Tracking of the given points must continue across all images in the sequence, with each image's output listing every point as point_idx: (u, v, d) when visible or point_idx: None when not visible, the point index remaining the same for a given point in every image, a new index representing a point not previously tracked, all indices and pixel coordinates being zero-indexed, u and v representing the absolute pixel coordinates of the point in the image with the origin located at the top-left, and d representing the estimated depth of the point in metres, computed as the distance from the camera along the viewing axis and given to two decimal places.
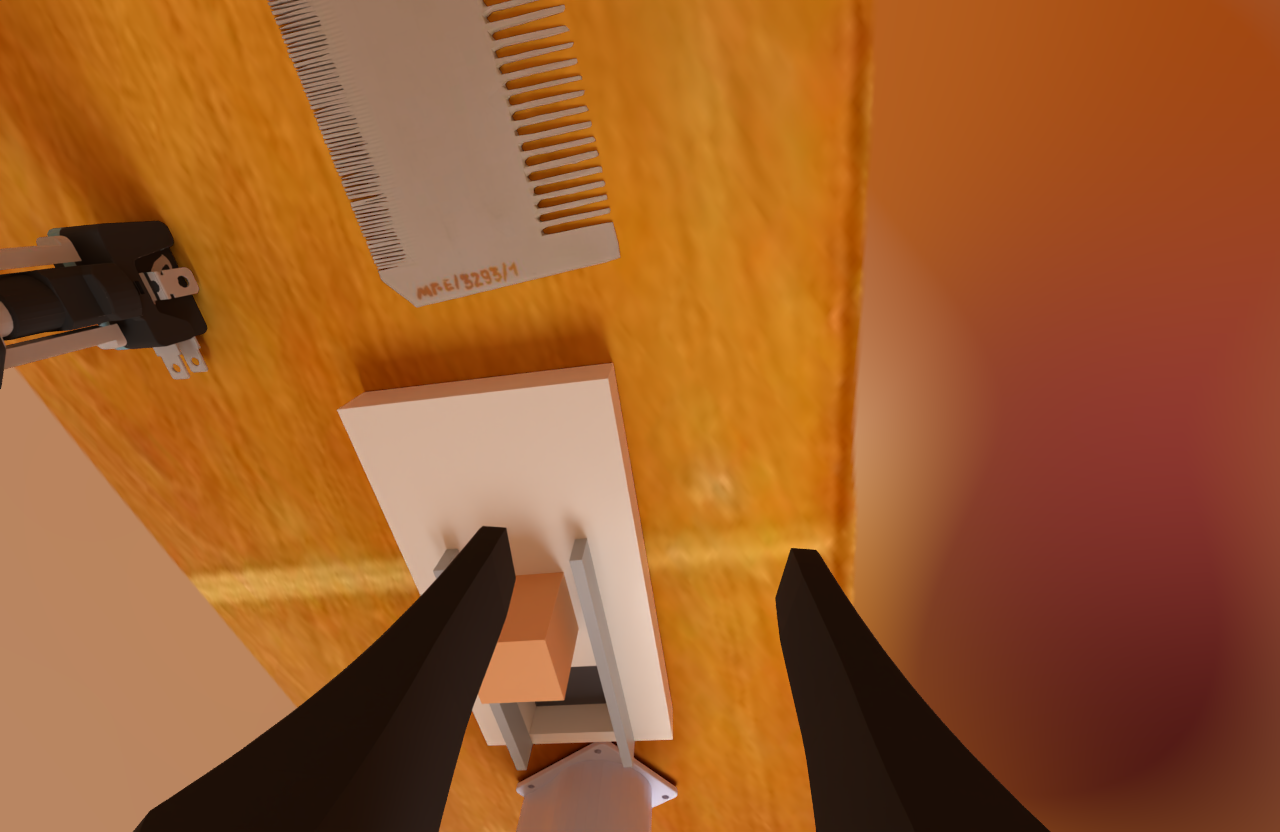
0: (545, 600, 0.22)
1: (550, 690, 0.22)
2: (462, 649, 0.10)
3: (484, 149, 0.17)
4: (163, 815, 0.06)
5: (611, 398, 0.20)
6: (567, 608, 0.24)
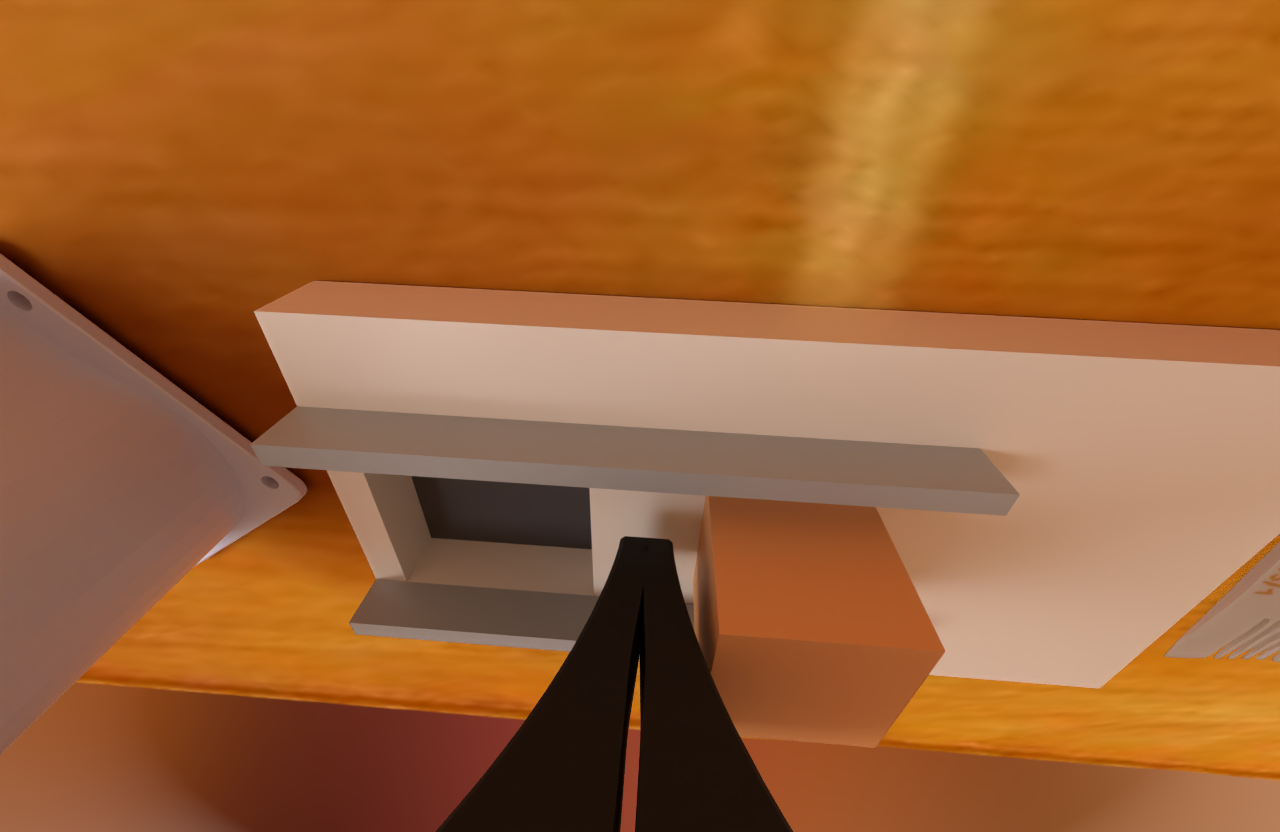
0: None
1: None
2: (633, 663, 0.10)
3: None
4: None
5: (1070, 684, 0.16)
6: None
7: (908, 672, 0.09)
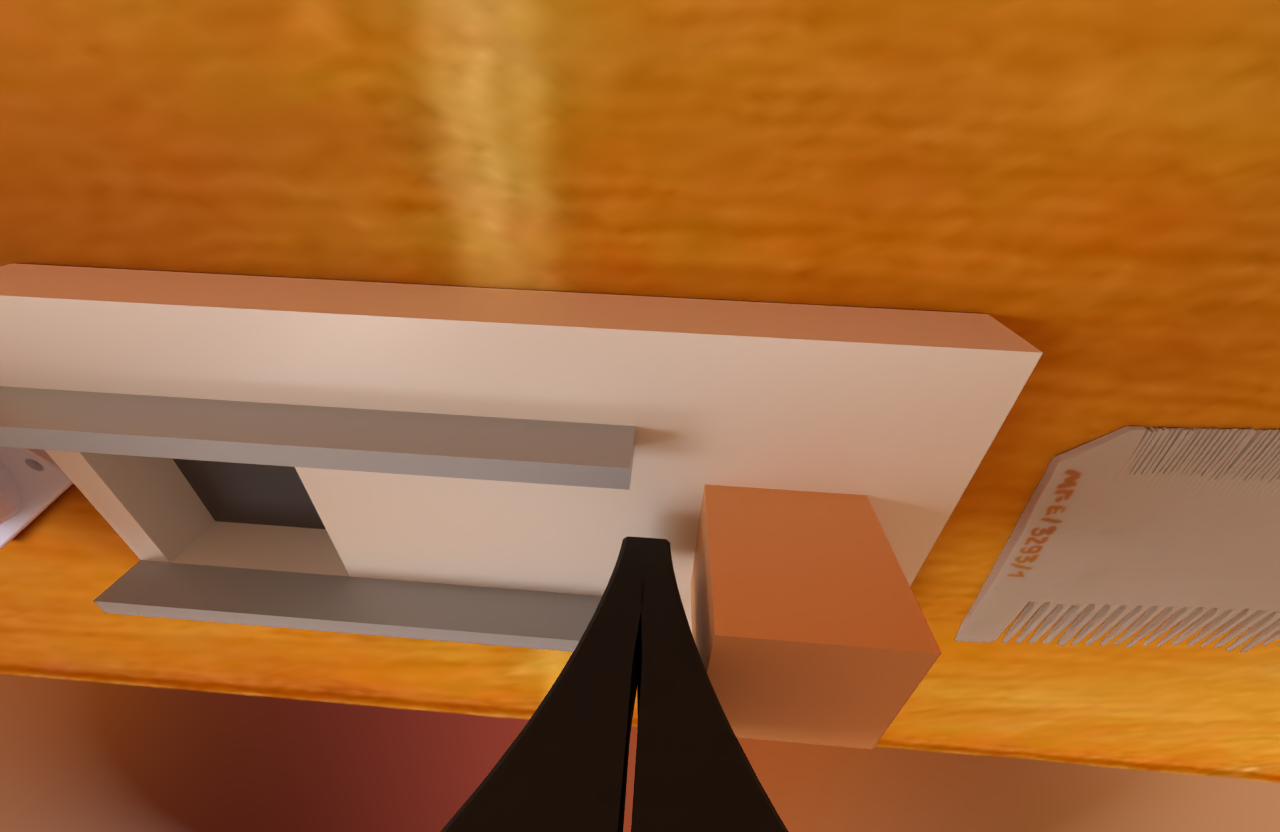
0: None
1: None
2: (635, 663, 0.10)
3: (1155, 582, 0.15)
4: None
5: None
6: None
7: (904, 673, 0.09)
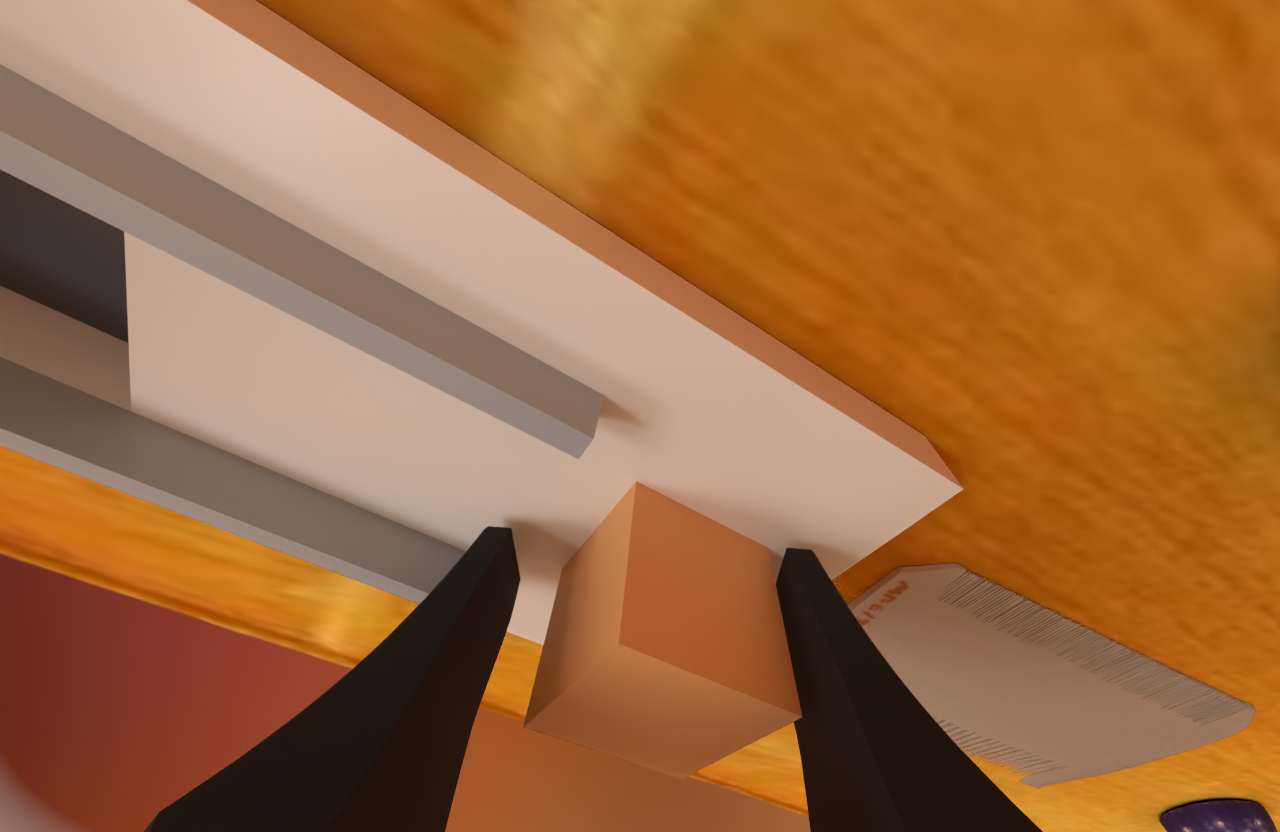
0: None
1: (564, 729, 0.10)
2: (468, 650, 0.10)
3: None
4: (174, 816, 0.06)
5: None
6: None
7: (759, 725, 0.09)
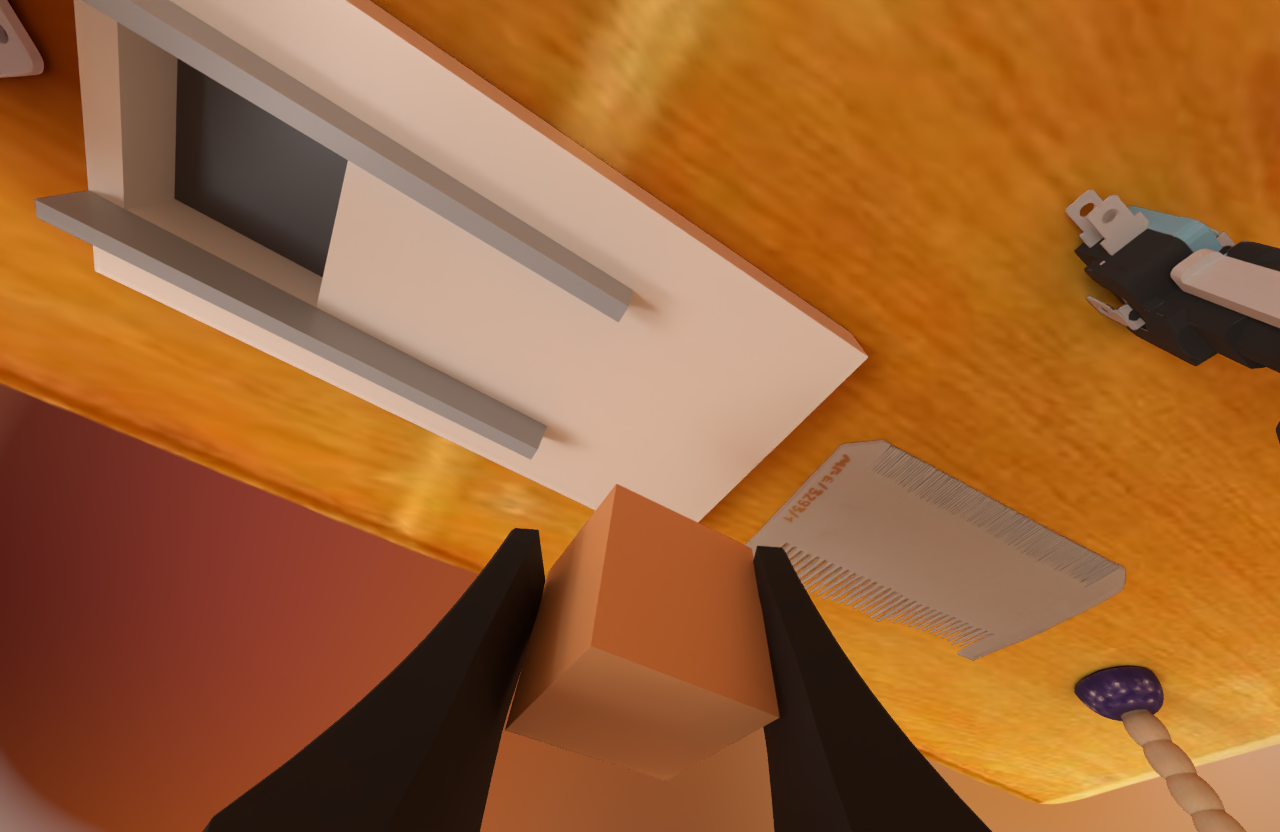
0: None
1: (545, 732, 0.10)
2: (500, 652, 0.10)
3: (855, 552, 0.24)
4: (228, 821, 0.06)
5: None
6: None
7: (737, 726, 0.09)
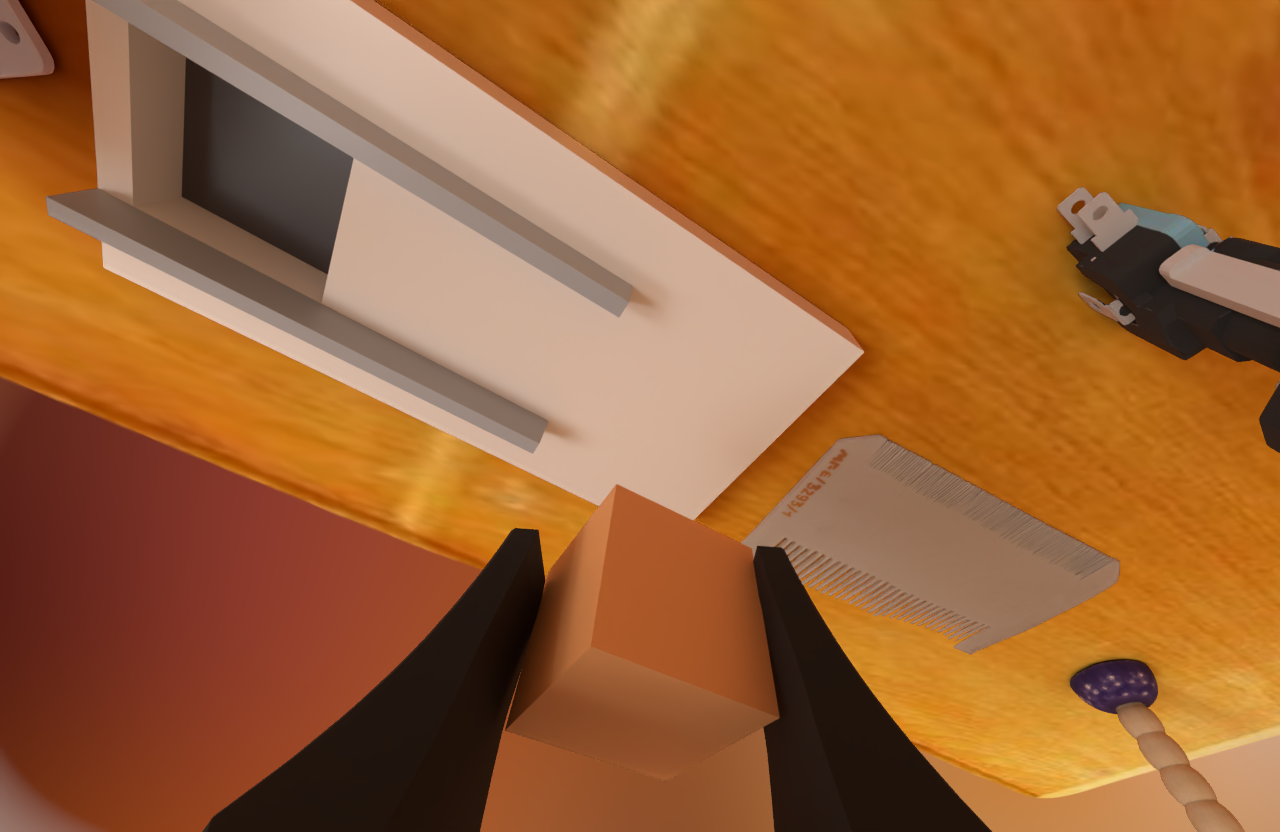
0: None
1: (545, 732, 0.10)
2: (500, 652, 0.10)
3: (852, 547, 0.24)
4: (228, 820, 0.06)
5: None
6: None
7: (737, 726, 0.09)
